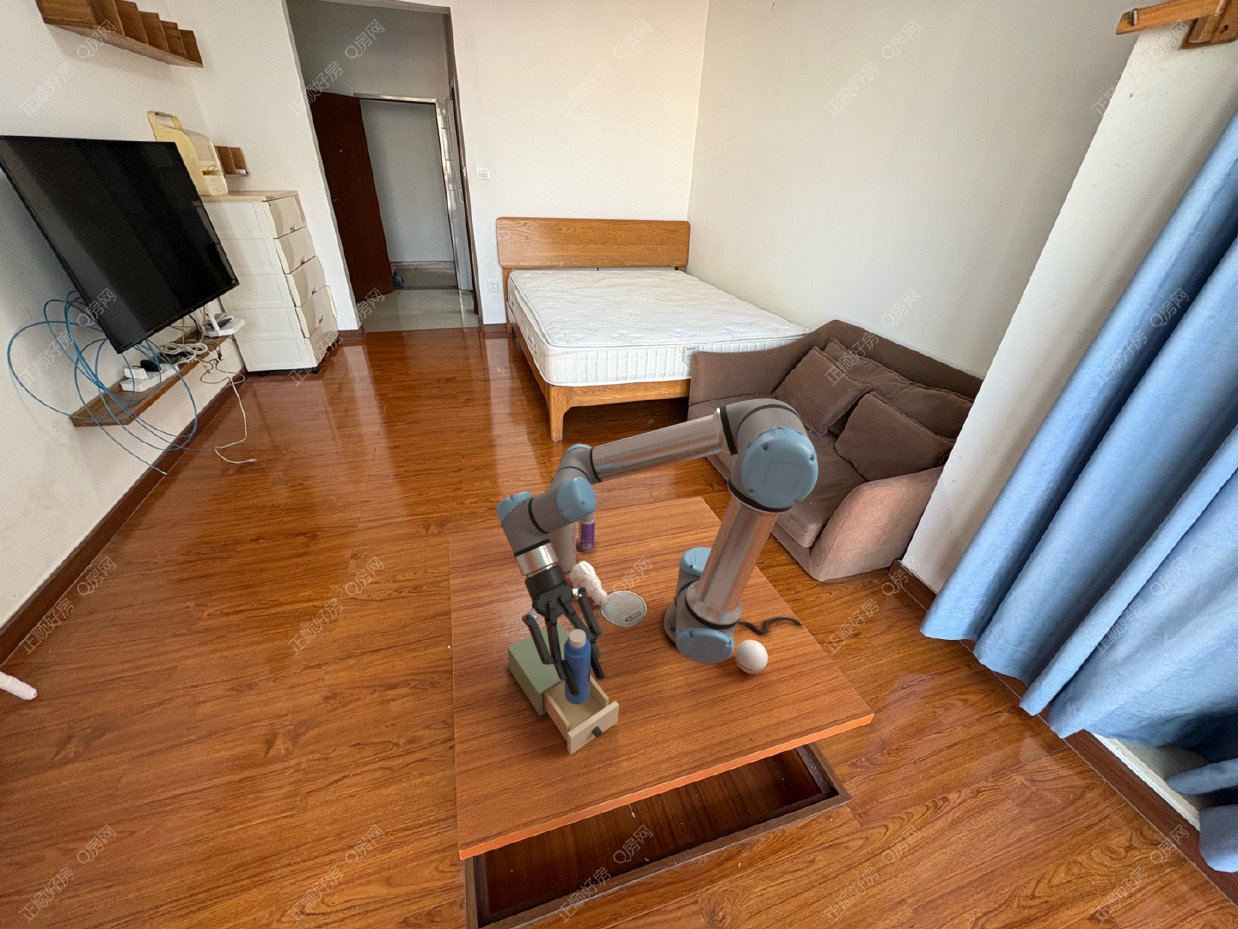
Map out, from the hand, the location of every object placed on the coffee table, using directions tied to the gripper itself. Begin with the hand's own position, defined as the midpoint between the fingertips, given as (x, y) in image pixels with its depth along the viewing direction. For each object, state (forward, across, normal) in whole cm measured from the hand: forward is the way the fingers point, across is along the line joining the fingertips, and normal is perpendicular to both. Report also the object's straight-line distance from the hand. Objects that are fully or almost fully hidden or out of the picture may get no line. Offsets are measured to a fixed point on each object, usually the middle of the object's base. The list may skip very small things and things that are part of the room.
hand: (588, 685), depth 95 cm
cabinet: (0, 0, -20) cm, 20 cm away
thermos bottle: (-22, -22, -42) cm, 52 cm away
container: (-23, -31, -43) cm, 58 cm away
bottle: (+2, 0, -7) cm, 8 cm away
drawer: (+7, 0, -11) cm, 13 cm away
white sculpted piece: (-11, -21, -31) cm, 39 cm away
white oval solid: (+18, -38, -2) cm, 42 cm away
